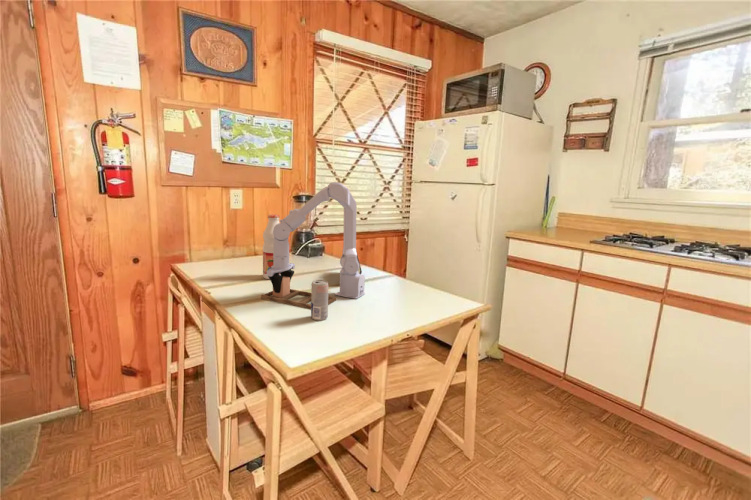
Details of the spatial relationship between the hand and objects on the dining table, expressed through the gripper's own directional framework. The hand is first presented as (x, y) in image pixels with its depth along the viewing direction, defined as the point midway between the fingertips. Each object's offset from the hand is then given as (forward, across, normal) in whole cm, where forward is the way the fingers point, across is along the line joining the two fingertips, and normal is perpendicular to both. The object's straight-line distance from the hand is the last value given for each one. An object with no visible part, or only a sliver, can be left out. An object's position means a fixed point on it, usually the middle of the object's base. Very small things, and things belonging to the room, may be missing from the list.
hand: (281, 290), depth 138 cm
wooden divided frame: (+2, 0, +8) cm, 8 cm away
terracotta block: (+2, 0, 0) cm, 2 cm away
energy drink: (+2, +12, +24) cm, 27 cm away
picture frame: (+2, -37, +11) cm, 39 cm away
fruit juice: (+2, -20, -19) cm, 28 cm away
